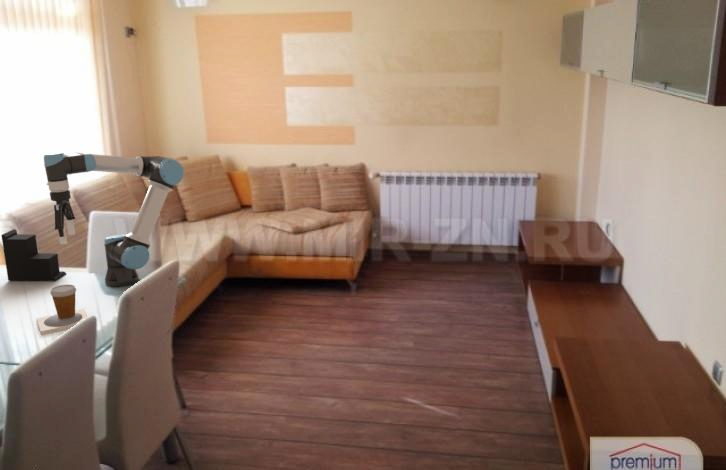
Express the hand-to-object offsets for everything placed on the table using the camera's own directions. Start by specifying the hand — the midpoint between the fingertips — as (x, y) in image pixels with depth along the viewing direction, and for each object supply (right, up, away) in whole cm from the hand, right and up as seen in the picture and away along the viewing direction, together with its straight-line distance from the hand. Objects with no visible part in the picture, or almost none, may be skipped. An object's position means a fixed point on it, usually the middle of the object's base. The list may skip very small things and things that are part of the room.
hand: (68, 239), depth 254 cm
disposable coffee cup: (+4, -32, -9) cm, 33 cm away
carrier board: (+4, -34, -12) cm, 36 cm away
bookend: (-35, -20, +41) cm, 57 cm away
